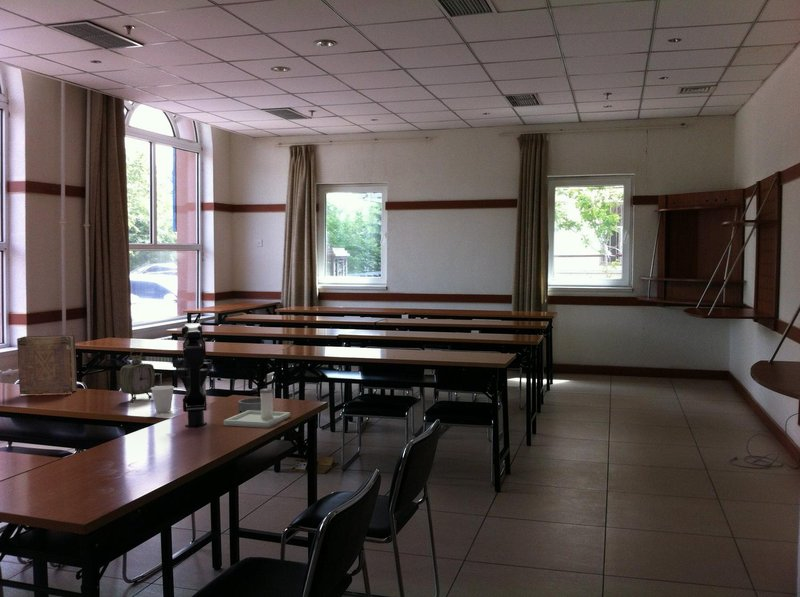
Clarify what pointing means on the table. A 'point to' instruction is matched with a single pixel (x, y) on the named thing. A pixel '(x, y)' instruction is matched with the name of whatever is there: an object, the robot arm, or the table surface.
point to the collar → (250, 404)
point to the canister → (266, 403)
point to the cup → (162, 398)
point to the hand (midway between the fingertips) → (194, 389)
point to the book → (47, 364)
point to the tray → (255, 419)
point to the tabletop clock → (137, 377)
